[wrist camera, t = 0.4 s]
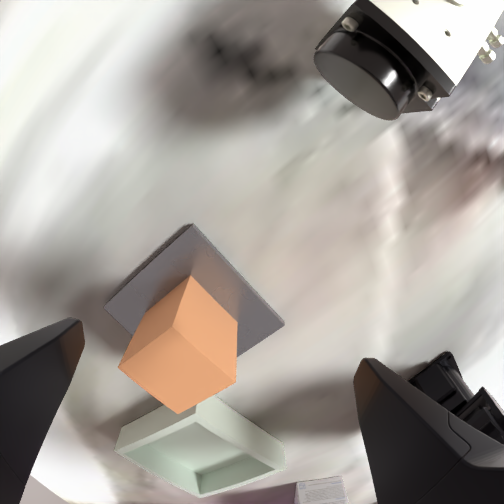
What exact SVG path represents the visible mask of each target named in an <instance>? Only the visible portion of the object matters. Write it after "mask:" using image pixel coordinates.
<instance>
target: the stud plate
mask: <svg viewBox="0 0 504 504" xmlns="http://www.w3.org/2000/svg"><path fill="white" fill-rule="evenodd" d="M190 275H191V276H192V277H193V278H194V279H195V280H196V281H197V282H198V283H199V284H200V285H201V286H202V287H203V288H204V289H205V290H206V291H207V292H208V293H209V294H210V295H211V296H212V297H213V299H214V300H215V301H216V302H217V303H218V304H219V305H220V306H221V307H222V308H223V309H224V310H226V311H227V312H228V313H229V314H230V315H231V316H232V317H233V318H234V319H235V320H236V321H237V322H238V323H237V357H238V356H239V355H241V354H242V353H244V352H246V351H247V350H249V349H250V348H252V347H253V346H255V345H256V344H258V343H259V342H261V341H262V340H264V339H265V338H267V337H268V336H270V335H271V334H273V333H274V332H276V331H277V330H279V329H280V328H281V327H283V326H284V325H285V324H284V321H283V320H282V319H281V318H280V316H279V315H278V314H277V313H276V312H275V311H274V310H273V309H272V308H271V307H270V306H269V305H268V304H267V303H266V302H265V301H264V299H263V298H262V297H261V296H260V295H259V294H258V293H257V292H256V291H255V290H254V289H253V288H252V287H251V286H250V285H249V283H248V282H247V281H246V280H245V279H244V278H243V277H242V276H241V275H240V274H239V273H238V272H237V271H236V269H235V268H234V267H233V266H232V265H231V264H230V263H229V262H228V261H227V260H226V259H225V257H224V256H223V255H222V254H221V253H220V252H219V251H218V250H217V249H216V248H215V247H214V245H213V244H212V243H211V242H210V241H209V240H208V239H207V238H206V237H205V236H204V234H203V233H202V232H201V231H200V230H199V229H198V228H197V227H196V226H195V225H194V224H192V225H191V226H190V227H189V228H188V229H187V230H186V231H184V232H183V233H182V234H181V235H180V236H179V237H178V238H176V239H175V240H174V241H173V242H172V243H171V244H170V245H169V246H168V247H166V248H165V249H164V250H163V251H162V252H161V253H160V254H159V255H158V256H156V257H155V258H154V259H153V260H152V261H151V262H150V263H149V264H148V265H147V266H145V267H144V268H143V269H142V270H141V271H140V272H139V273H138V274H137V275H136V276H135V277H134V278H133V279H132V280H130V281H129V282H128V283H127V284H126V285H125V286H124V287H123V288H122V289H121V290H120V291H119V292H118V293H117V294H116V295H115V296H114V297H113V298H112V299H110V300H109V301H108V302H107V303H106V305H105V306H104V307H103V308H104V309H105V310H106V311H107V312H108V313H109V314H110V315H111V316H112V317H113V318H115V319H116V320H117V321H118V322H119V323H120V324H121V325H122V326H123V327H124V328H125V329H126V330H127V331H128V332H129V333H130V334H131V335H134V333H135V331H136V329H137V327H138V325H139V323H140V321H141V320H142V318H143V316H144V314H145V313H146V312H147V311H148V310H149V309H150V308H152V307H153V306H154V305H155V304H156V303H158V302H159V301H160V300H161V299H162V298H164V297H165V296H166V295H167V294H168V293H170V292H171V291H172V290H173V289H174V288H176V287H177V286H178V285H179V284H180V283H182V282H183V281H184V280H185V279H186V278H188V277H189V276H190Z"/></svg>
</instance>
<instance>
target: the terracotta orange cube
mask: <svg viewBox="0 0 504 504" xmlns="http://www.w3.org/2000/svg"><path fill="white" fill-rule="evenodd" d="M237 323H238V322H237V321H236V320H235V319H234V318H233V317H232V316H231V315H230V314H229V313H228V312H227V311H226V310H224V309H223V308H222V307H221V306H220V305H219V304H218V303H217V302H216V301H215V300H214V299H213V297H212V296H211V295H210V294H209V293H208V292H207V291H206V290H205V289H204V288H203V287H202V286H201V285H200V284H199V283H198V282H197V281H196V280H195V279H194V278H193V277H192V276H191V275H190V276H189V277H188V278H186V279H185V280H184V281H183V282H182V283H180V284H179V285H178V286H177V287H176V288H174V289H173V290H172V291H171V292H170V293H168V294H167V295H166V296H165V297H164V298H162V299H161V300H160V301H159V302H158V303H156V304H155V305H154V306H153V307H152V308H150V309H149V310H148V311H147V312H146V313H145V314H144V316H143V318H142V320H141V321H140V323H139V325H138V327H137V329H136V331H135V333H134V335H133V337H132V339H131V341H130V343H129V345H128V347H127V349H126V351H125V353H124V355H123V358H122V360H121V362H120V364H119V366H118V368H119V369H120V370H121V371H122V372H124V373H125V374H126V375H127V376H128V377H130V378H131V379H132V380H133V381H134V382H136V383H137V384H138V385H139V386H141V387H142V388H143V389H144V390H146V391H147V392H148V393H150V394H151V395H152V396H153V397H155V398H156V399H157V400H159V401H160V402H161V403H163V404H164V405H166V406H167V407H168V408H170V409H171V410H172V411H174V412H175V413H177V414H179V413H181V412H183V411H185V410H187V409H189V408H191V407H193V406H195V405H196V404H198V403H200V402H202V401H204V400H206V399H207V398H209V397H211V396H213V395H214V394H216V393H218V392H220V391H222V390H223V389H225V388H227V387H228V386H230V385H232V384H234V383H235V382H236V359H237Z"/></svg>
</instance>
